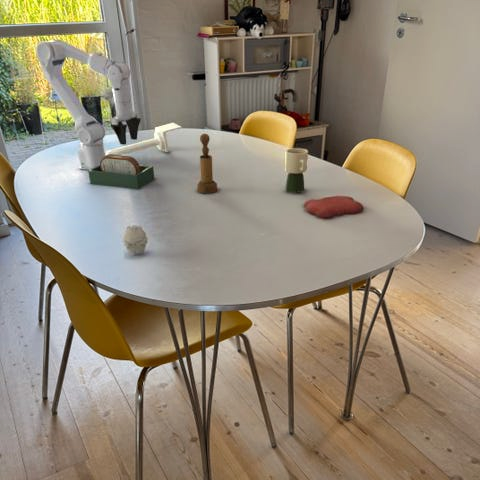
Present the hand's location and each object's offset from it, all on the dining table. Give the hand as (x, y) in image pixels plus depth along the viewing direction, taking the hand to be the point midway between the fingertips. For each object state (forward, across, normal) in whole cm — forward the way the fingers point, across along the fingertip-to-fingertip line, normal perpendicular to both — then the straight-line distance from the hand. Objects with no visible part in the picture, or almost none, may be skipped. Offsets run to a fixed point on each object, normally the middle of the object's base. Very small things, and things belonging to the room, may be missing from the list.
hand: (128, 141), depth 176 cm
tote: (+10, -13, -4) cm, 17 cm away
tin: (+10, -13, -3) cm, 17 cm away
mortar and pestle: (+11, -13, -36) cm, 40 cm away
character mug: (+12, -4, -64) cm, 65 cm away
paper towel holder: (+10, +23, +8) cm, 27 cm away
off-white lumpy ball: (+11, -62, -39) cm, 74 cm away
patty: (+12, -16, -79) cm, 82 cm away
